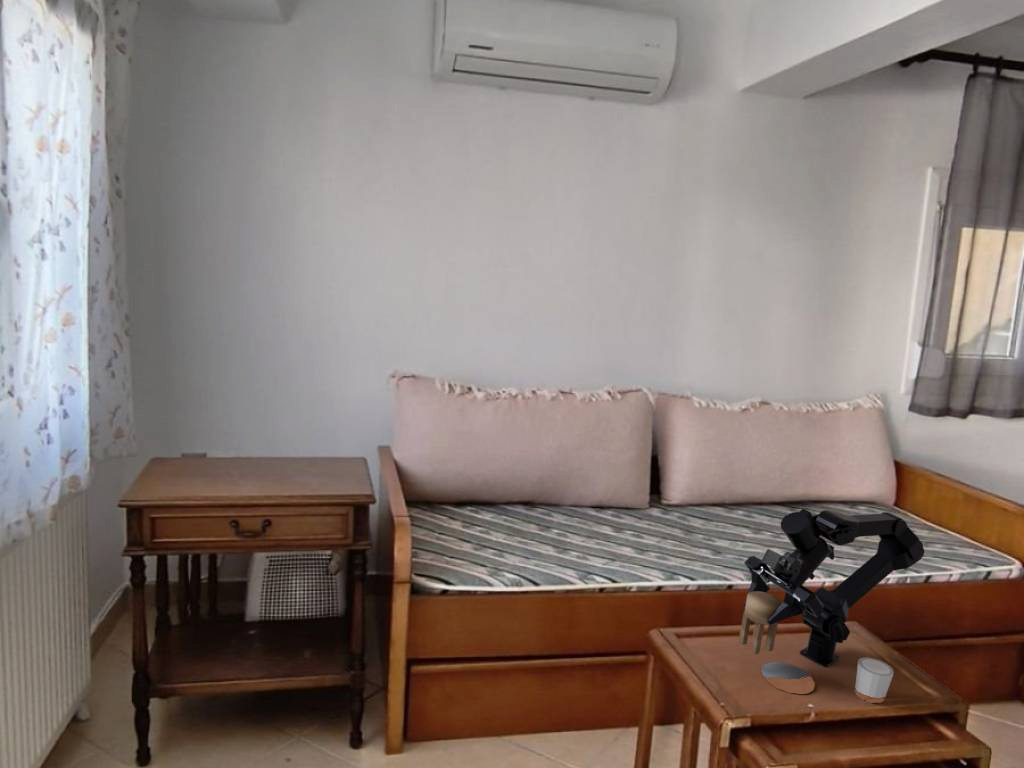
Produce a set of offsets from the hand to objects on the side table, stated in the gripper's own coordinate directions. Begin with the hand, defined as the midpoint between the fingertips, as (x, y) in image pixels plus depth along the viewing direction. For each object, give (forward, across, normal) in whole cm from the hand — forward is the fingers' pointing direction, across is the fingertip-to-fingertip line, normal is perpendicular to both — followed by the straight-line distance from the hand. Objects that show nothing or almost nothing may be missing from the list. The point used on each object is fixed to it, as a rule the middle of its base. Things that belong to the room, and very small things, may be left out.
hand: (756, 614), depth 165 cm
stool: (+4, 0, +6) cm, 8 cm away
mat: (+4, +5, +15) cm, 16 cm away
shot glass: (-4, +15, +24) cm, 29 cm away
